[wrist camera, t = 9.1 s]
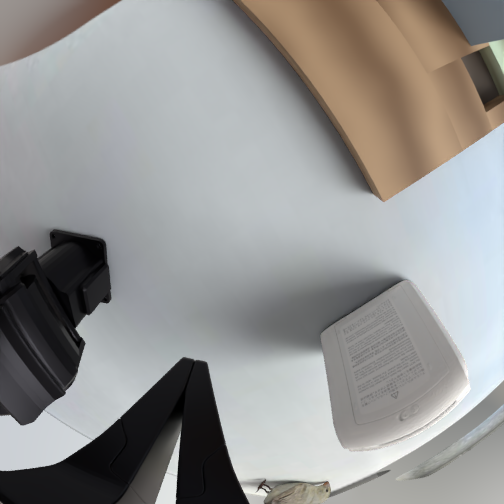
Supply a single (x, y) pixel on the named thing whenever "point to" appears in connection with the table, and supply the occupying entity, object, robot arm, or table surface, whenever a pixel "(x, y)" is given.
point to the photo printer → (391, 370)
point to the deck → (390, 79)
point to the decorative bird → (297, 493)
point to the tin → (478, 19)
